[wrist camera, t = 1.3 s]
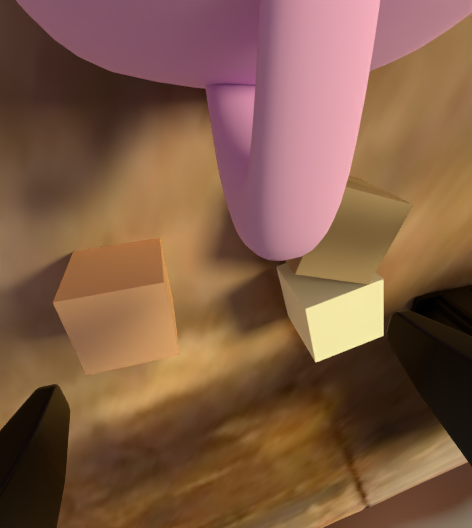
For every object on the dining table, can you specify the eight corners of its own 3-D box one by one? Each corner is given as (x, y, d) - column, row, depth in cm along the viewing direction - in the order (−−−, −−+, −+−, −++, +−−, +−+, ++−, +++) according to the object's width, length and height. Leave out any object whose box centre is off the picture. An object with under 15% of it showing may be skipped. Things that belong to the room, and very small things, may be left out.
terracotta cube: (173, 301, 22) (179, 354, 18) (98, 316, 21) (86, 375, 17) (160, 237, 19) (163, 282, 15) (73, 251, 18) (52, 302, 14)
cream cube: (344, 293, 26) (383, 335, 21) (287, 315, 25) (315, 362, 21) (340, 242, 23) (383, 279, 19) (275, 265, 23) (305, 309, 18)
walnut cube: (328, 246, 23) (368, 284, 19) (265, 234, 21) (295, 274, 17) (359, 178, 21) (413, 204, 16) (292, 159, 19) (334, 183, 15)
